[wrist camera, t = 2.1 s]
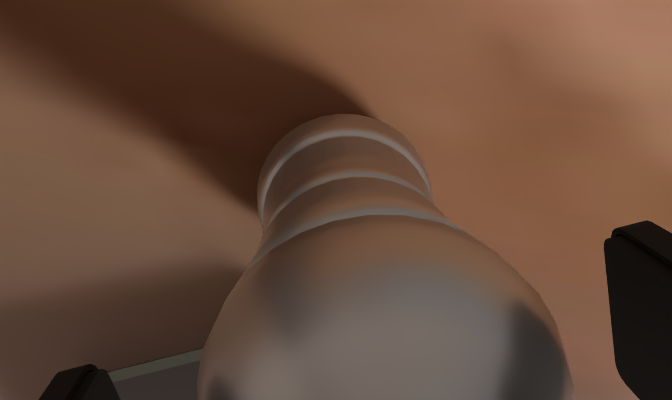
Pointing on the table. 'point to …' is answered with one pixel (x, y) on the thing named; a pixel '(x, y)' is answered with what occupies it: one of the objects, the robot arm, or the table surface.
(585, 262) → the table surface
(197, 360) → the grey open box
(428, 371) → the plastic bottle
